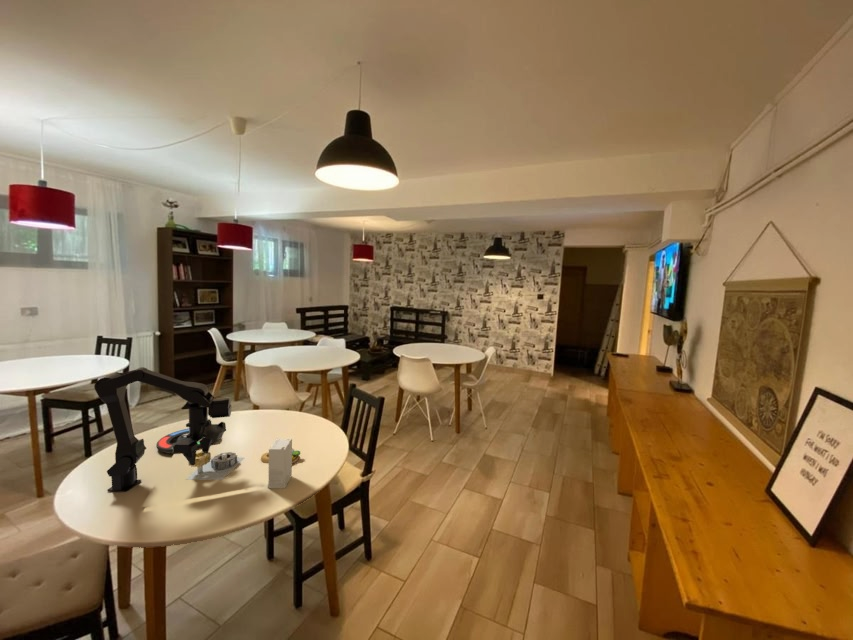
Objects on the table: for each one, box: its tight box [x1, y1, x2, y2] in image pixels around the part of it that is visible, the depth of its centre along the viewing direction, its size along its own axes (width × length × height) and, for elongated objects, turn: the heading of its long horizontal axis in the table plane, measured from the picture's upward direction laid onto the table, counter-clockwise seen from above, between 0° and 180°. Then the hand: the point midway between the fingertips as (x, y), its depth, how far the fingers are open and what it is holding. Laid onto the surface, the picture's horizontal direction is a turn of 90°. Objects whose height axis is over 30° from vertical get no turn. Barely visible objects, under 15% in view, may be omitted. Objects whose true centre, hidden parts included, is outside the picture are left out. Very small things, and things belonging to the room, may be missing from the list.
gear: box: [211, 451, 238, 470], centre depth 131 cm, size 9×9×3 cm
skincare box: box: [267, 438, 293, 489], centre depth 122 cm, size 8×6×15 cm
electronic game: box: [155, 428, 215, 455], centre depth 150 cm, size 23×23×5 cm
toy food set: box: [260, 447, 301, 465], centre depth 138 cm, size 13×13×3 cm
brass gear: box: [187, 450, 212, 468], centre depth 124 cm, size 7×7×3 cm
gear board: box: [185, 454, 245, 481], centre depth 128 cm, size 16×13×5 cm
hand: (199, 460), depth 124 cm, fingers closed on brass gear, 7 cm apart
